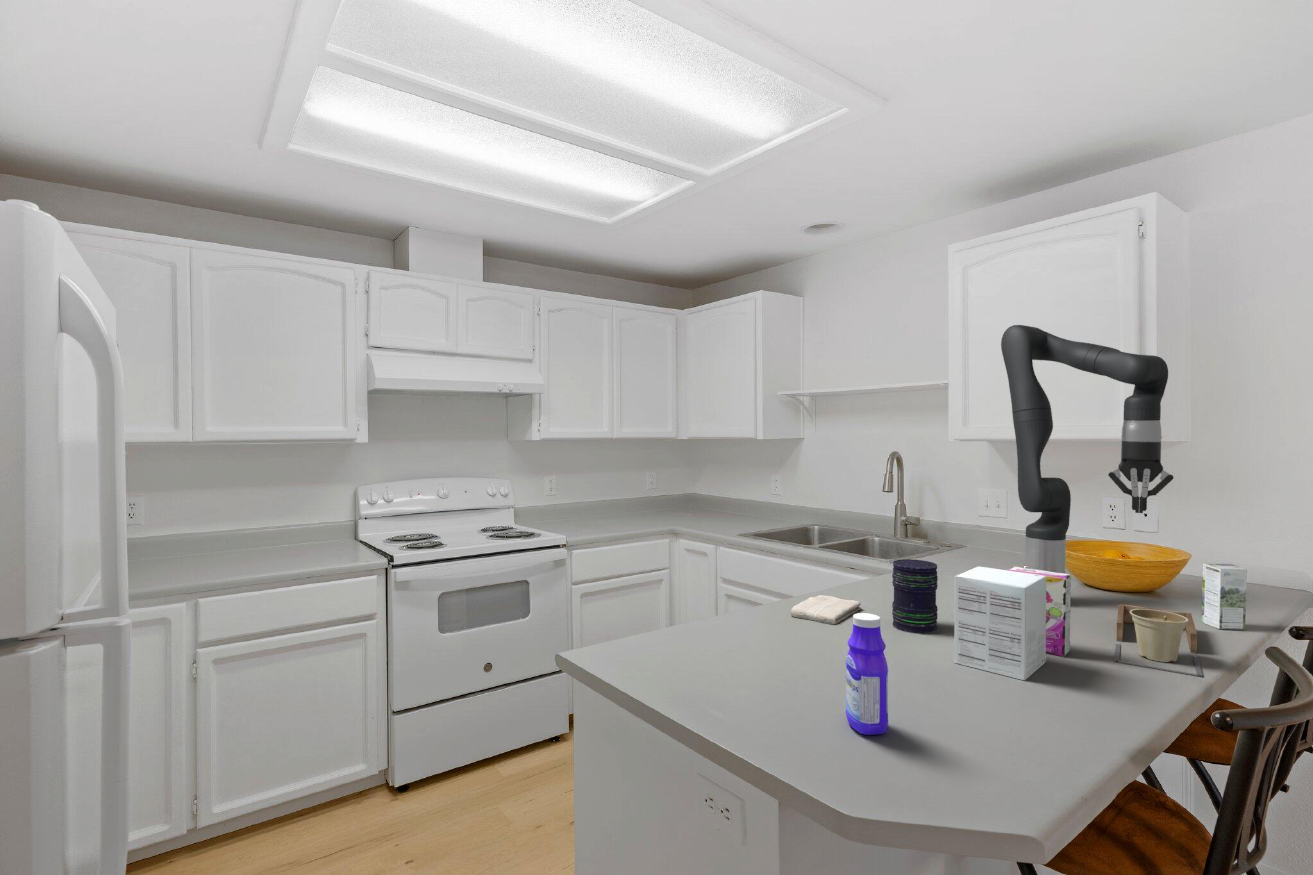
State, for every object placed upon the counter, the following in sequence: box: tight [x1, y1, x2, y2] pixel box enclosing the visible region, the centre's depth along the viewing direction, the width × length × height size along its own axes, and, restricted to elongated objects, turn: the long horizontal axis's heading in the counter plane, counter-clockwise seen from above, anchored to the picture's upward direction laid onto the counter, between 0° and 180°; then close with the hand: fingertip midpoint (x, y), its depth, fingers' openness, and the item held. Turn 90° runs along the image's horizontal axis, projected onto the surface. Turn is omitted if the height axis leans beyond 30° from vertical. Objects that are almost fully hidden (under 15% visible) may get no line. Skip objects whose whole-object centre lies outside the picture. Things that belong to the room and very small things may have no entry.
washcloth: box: [790, 594, 862, 626], centre depth 164 cm, size 12×18×3 cm, turn 143°
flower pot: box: [1130, 609, 1188, 663], centre depth 132 cm, size 9×9×9 cm
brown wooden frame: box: [1116, 603, 1198, 654], centre depth 145 cm, size 14×18×4 cm
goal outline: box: [1113, 643, 1204, 678], centre depth 130 cm, size 14×13×1 cm
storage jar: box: [891, 558, 939, 635], centre depth 152 cm, size 10×10×15 cm
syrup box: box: [1200, 562, 1248, 631], centre depth 152 cm, size 6×6×14 cm
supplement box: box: [953, 565, 1047, 681], centre depth 129 cm, size 13×13×18 cm
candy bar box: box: [1006, 566, 1072, 658], centre depth 137 cm, size 11×5×16 cm, turn 47°
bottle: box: [845, 612, 889, 736], centre depth 101 cm, size 7×6×17 cm
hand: (1139, 512), depth 154 cm, fingers closed
